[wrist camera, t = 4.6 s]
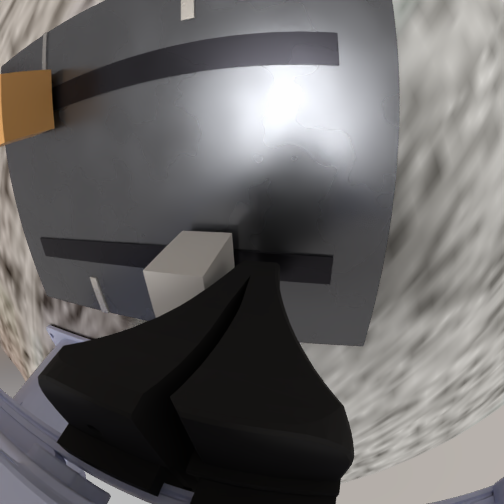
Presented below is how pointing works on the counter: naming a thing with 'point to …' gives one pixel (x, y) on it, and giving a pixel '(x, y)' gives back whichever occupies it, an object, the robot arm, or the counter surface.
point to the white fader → (187, 268)
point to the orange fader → (25, 105)
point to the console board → (216, 150)
